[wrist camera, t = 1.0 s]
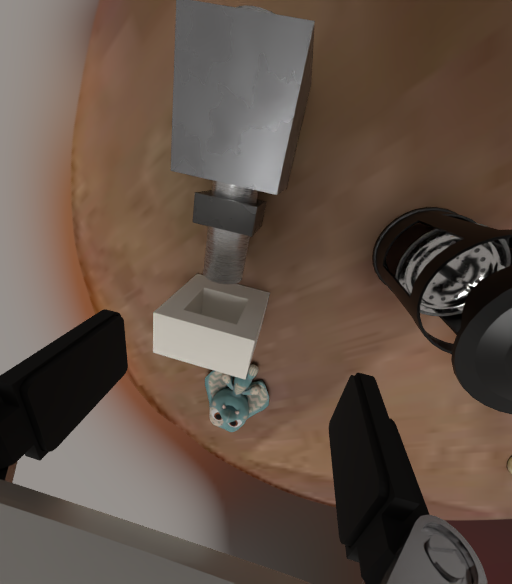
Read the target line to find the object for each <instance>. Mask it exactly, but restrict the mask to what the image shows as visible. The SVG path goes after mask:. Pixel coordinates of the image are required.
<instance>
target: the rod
mask: <svg viewBox="0 0 512 584" xmlns="http://www.w3.org/2000/svg"><path fill="white" fill-rule="evenodd" d="M236 8H241V9H246V10H252V11H258V12H264V13H270V14H274V13H272V12H270V11H268V10H266V9H263V8H260V7H255V6H239V7H236ZM257 196H258V191H257V190H253V189H248V188H244V187H240V186H235V185H231V184H227V183H222V182H218V181H214V180H213V186H212V190H209V191H202V192H195V199H194V212H193V222H194V223H198V224H202V225H206V226H208V233H207V242H206V252H205V261H204V271H203V275H204V276H205V277H206V278H207V279H208V280H210V281H213V282H216V283H220V284H236V283H239V282H240V281H241V280H242V276H243V271H244V265H245V260H246V255H247V249H248V244H249V239H250V237H252V236H253V235H254V234H255V233H256V231H257V230H258V229H259V228H260V227H261V226H262V222H263V217H264V213H265V208H266V203H267V201H263V200H259V199H257Z"/></svg>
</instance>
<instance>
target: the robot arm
mask: <svg viewBox="0 0 512 584" xmlns="http://www.w3.org/2000/svg"><path fill="white" fill-rule="evenodd" d="M127 368H128V363H127V352H126V341H125V330H124V320H123V318H122V317H121V315H120V314H119V313H118V312H114V311H110V310H102V311H100V312H98V313H97V314H95V315H94V316H92V317H91V318H89V319H88V320H86V321H84V322H83V323H82V324H80V325H78V326H77V327H75V328H74V329H72V330H70V331H69V332H67V333H66V334H64V335H63V336H61V337H60V338H58V339H57V340H55V341H53V342H52V343H50V344H49V345H47V346H46V347H44V348H43V349H41V350H40V351H38V352H37V353H35V354H33V355H32V356H30V357H29V358H27V359H25V360H24V361H22V362H21V363H19V364H18V365H16V366H15V367H13V368H12V369H10V370H8V371H7V372H5V373H4V374H2V375H1V376H0V584H311V583H308V582H306V581H303V580H300V579H297V578H294V577H292V576H289V575H286V574H283V573H281V572H278V571H275V570H272V569H269V568H266V567H263V566H260V565H257V564H254V563H251V562H248V561H246V560H243V559H240V558H237V557H234V556H231V555H228V554H225V553H222V552H219V551H216V550H213V549H210V548H207V547H204V546H201V545H198V544H195V543H192V542H189V541H186V540H183V539H180V538H177V537H174V536H171V535H168V534H165V533H162V532H159V531H156V530H153V529H150V528H147V527H144V526H141V525H138V524H135V523H132V522H129V521H126V520H123V519H120V518H117V517H114V516H111V515H108V514H105V513H102V512H99V511H96V510H93V509H90V508H87V507H84V506H81V505H78V504H74V503H72V502H69V501H65V500H62V499H60V498H56V497H53V496H50V495H47V494H44V493H41V492H38V491H35V490H32V489H29V488H26V487H23V486H20V485H16V484H13V483H12V481H13V477H14V473H15V469H16V464H17V461H18V460H19V459H20V458H21V457H22V456H23V455H24V454H25V455H26V456H28V457H31V458H34V459H37V460H41V459H42V458H43V457H44V456H45V455H46V454H47V453H48V452H49V451H53V450H54V449H56V448H57V447H58V446H59V445H60V444H61V442H62V441H63V440H64V439H65V438H66V437H67V436H68V435H69V434H70V433H71V432H72V431H73V430H74V428H75V427H76V426H77V425H78V424H79V423H80V422H81V421H82V420H83V419H84V418H85V416H86V415H87V414H88V413H89V412H90V411H91V410H92V409H93V408H94V407H95V406H96V404H98V402H99V401H100V400H101V399H102V398H103V397H104V396H105V395H106V394H107V393H108V392H109V391H110V390H111V388H112V387H113V386H114V385H115V384H116V383H117V382H118V381H119V380H120V379H121V378H122V377H123V376H124V374H125V373H126V371H127ZM329 437H330V448H331V458H332V468H333V479H334V489H335V499H336V509H337V520H338V529H339V538H340V541H341V543H342V544H345V547H346V555H347V559H351V560H353V561H356V562H359V563H360V570H361V577H362V578H363V580H364V581H363V583H362V584H487V580H486V576H485V573H484V570H483V567H482V565H481V563H480V561H479V559H478V557H477V555H476V553H475V552H474V550H473V549H472V548H471V546H470V545H469V544H468V542H467V541H466V539H465V538H464V537H463V536H462V535H461V534H460V533H459V532H458V531H457V530H456V529H455V528H453V527H452V526H451V525H450V524H448V523H447V522H446V521H444V520H442V519H440V518H438V517H436V516H432V515H429V512H428V509H427V507H426V504H425V501H424V499H423V496H422V493H421V491H420V488H419V485H418V483H417V480H416V477H415V475H414V472H413V469H412V467H411V464H410V461H409V459H408V456H407V453H406V451H405V448H404V445H403V442H402V440H401V437H400V434H399V432H398V429H397V426H396V424H395V422H394V421H393V420H392V419H389V416H388V413H387V411H386V408H385V405H384V402H383V399H382V397H381V394H380V391H379V388H378V385H377V383H376V380H375V378H374V377H373V376H370V375H366V374H362V373H357V374H356V375H355V376H353V375H351V376H350V378H349V380H348V382H347V384H346V387H345V389H344V391H343V393H342V396H341V398H340V400H339V402H338V404H337V407H336V409H335V411H334V413H333V416H332V418H331V420H330V423H329Z"/></svg>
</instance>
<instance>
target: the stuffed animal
mask: <svg viewBox="0 0 512 584" xmlns="http://www.w3.org/2000/svg"><path fill="white" fill-rule="evenodd" d="M258 371H259V368H258V367H257V366H256V365H253V364H252V365H250V367H249V370H248V374H247V376H246V379H241V378H238V377H235V378H234V384H232V381H233V377H234V376H231V375H228V374H224V373H221V372H218V371H212V372H211V373H210V374H209V375H208V376H207V377H206V378H205V386H206V390H207V394H208V399H209V403H210V421H211V422H212V424H213V425H215V426H218V427H221V428H223V429H225V430H227V431H229V432H234V431H236V430H238V429H239V428H240V427H241V426H242V425H243V424H244V423H245V421H246V420H247V419H248V418H249V417H251V416H253V415H254V414H256V413H258V412H260V411H262V410H264V409H265V408H266V407H267V406H268V405H269V395H268V392H267V389H266V386H265V384H264V382H263V381H262V380H260V381H256V382H252V379H253V378H254V377H255V376H256V375H257V373H258ZM226 387H229V388H226ZM244 395H245V396H246V397H245V396H244Z"/></svg>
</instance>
